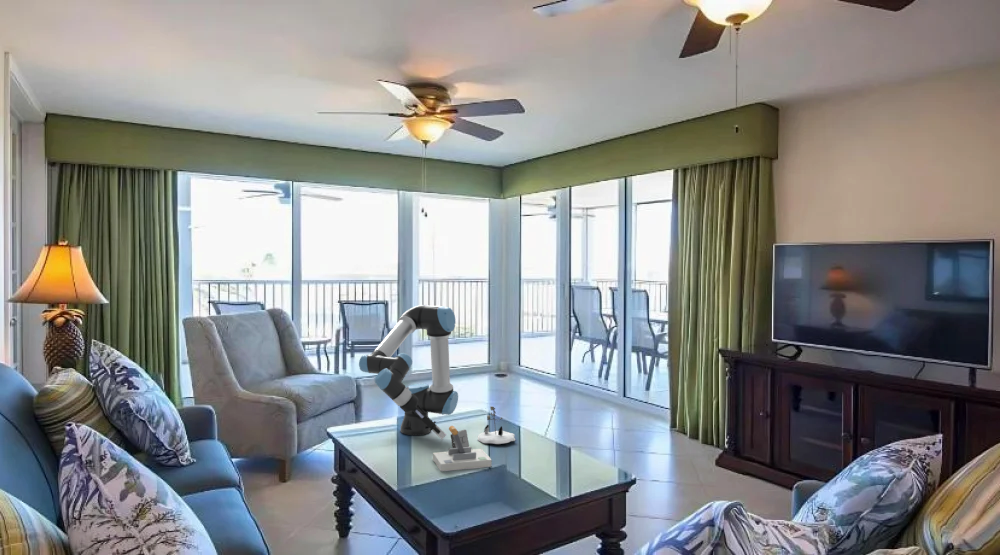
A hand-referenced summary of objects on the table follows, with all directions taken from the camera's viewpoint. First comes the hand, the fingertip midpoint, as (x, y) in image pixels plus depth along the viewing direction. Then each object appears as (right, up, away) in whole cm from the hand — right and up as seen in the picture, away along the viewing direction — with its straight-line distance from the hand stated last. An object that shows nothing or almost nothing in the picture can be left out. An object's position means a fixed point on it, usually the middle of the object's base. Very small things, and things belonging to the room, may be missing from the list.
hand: (443, 436), depth 245 cm
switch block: (+7, -12, +3) cm, 15 cm away
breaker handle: (+8, -8, +3) cm, 11 cm away
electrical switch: (+5, -12, +22) cm, 25 cm away
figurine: (+22, -12, +36) cm, 44 cm away
